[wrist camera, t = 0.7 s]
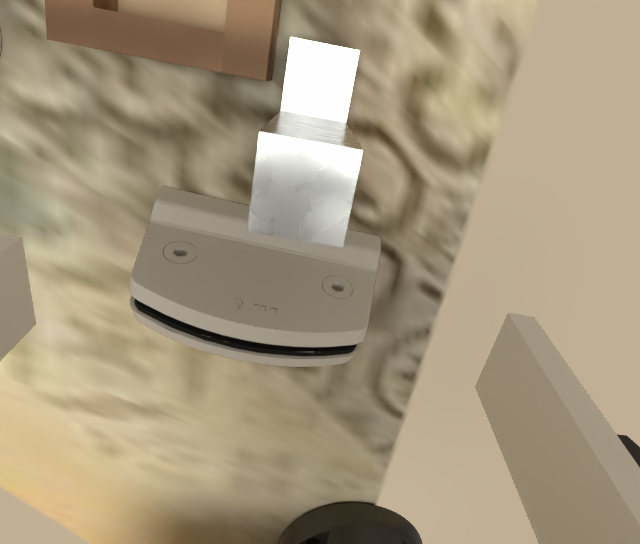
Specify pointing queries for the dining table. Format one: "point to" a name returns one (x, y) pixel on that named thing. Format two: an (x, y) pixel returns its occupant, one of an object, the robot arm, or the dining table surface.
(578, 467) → the robot arm
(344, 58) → the bracket
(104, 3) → the frame
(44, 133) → the dining table surface
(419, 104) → the dining table surface
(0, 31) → the coffee cup
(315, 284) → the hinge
